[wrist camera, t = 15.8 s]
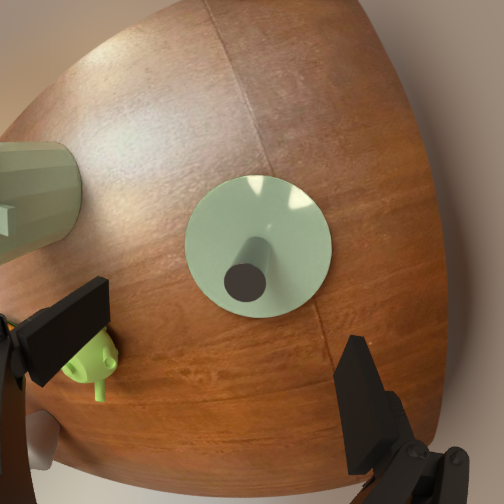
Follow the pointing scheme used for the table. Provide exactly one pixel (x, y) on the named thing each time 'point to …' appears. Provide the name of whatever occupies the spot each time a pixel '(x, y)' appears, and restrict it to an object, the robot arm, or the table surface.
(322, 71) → the table surface
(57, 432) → the vase
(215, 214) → the lid
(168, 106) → the table surface
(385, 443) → the robot arm
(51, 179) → the pot
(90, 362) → the teapot
